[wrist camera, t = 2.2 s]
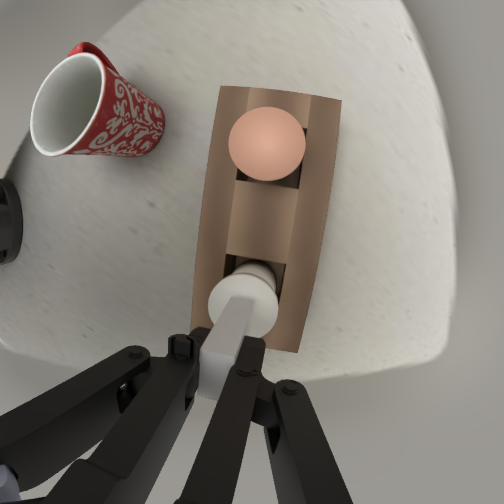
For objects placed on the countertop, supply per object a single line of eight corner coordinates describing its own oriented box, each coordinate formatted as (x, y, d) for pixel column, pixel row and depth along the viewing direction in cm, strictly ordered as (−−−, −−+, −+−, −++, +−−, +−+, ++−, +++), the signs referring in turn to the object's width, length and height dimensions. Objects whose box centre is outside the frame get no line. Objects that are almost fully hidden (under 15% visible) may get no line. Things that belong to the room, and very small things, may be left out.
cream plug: (224, 300, 26) (205, 333, 20) (231, 250, 25) (211, 269, 19) (276, 310, 26) (271, 346, 19) (285, 259, 25) (283, 282, 18)
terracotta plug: (240, 180, 24) (223, 175, 17) (248, 126, 23) (234, 103, 16) (297, 188, 23) (299, 186, 17) (304, 134, 22) (309, 112, 16)
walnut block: (209, 305, 32) (190, 332, 25) (235, 108, 27) (220, 85, 21) (296, 320, 31) (297, 352, 24) (330, 121, 26) (341, 100, 20)
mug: (179, 152, 29) (108, 129, 16) (113, 174, 31) (31, 172, 18) (164, 59, 27) (105, 6, 14) (104, 87, 29) (33, 56, 15)
